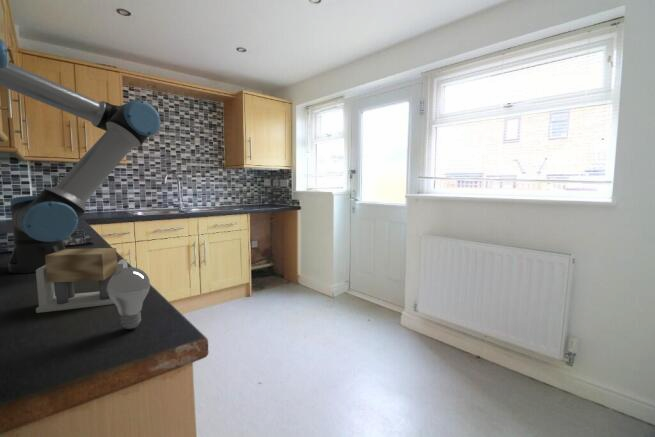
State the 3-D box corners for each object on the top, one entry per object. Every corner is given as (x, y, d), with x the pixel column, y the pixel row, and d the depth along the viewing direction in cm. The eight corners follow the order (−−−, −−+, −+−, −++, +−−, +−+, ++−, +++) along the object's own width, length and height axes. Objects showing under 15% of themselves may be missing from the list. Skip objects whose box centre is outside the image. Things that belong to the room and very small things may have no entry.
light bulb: (160, 324, 63) (157, 265, 62) (128, 340, 56) (124, 274, 55) (134, 319, 65) (131, 261, 64) (100, 333, 59) (96, 270, 57)
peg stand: (51, 300, 75) (48, 263, 74) (130, 292, 81) (128, 257, 80) (36, 312, 68) (32, 271, 67) (123, 302, 74) (121, 265, 73)
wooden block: (117, 271, 78) (116, 247, 78) (103, 280, 71) (102, 253, 71) (66, 273, 76) (64, 249, 75) (47, 282, 69) (45, 255, 69)
